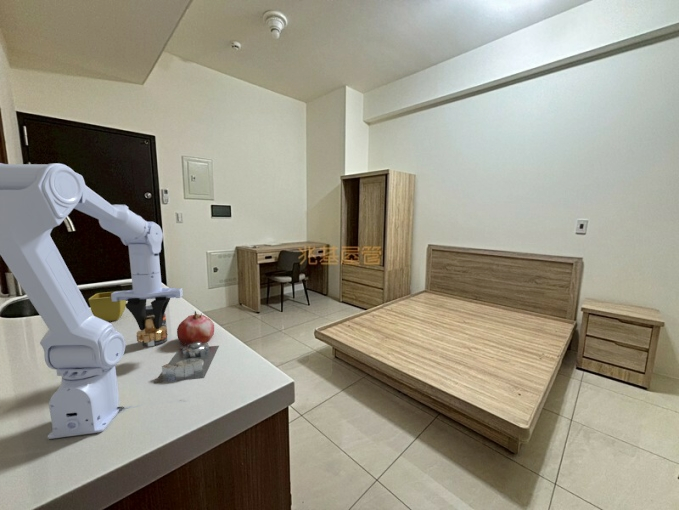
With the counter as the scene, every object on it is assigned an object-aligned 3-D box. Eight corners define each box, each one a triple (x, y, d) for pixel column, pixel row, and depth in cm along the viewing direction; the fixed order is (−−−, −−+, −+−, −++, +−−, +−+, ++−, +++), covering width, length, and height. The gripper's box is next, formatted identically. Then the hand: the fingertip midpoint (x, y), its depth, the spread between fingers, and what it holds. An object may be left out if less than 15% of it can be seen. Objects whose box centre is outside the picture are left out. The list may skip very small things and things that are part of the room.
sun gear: (205, 356, 72) (205, 347, 72) (179, 359, 71) (178, 349, 71) (211, 346, 78) (210, 337, 78) (187, 348, 77) (186, 339, 76)
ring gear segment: (200, 376, 63) (199, 366, 63) (159, 381, 62) (158, 370, 61) (203, 370, 66) (203, 360, 66) (164, 374, 64) (163, 364, 64)
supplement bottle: (156, 351, 77) (152, 310, 76) (137, 349, 78) (133, 309, 77) (172, 341, 83) (169, 303, 81) (155, 340, 84) (151, 302, 83)
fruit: (180, 339, 85) (177, 306, 83) (215, 334, 88) (213, 303, 87) (175, 353, 76) (172, 317, 75) (214, 347, 79) (212, 312, 78)
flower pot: (99, 317, 103) (96, 292, 102) (129, 313, 107) (126, 290, 106) (91, 325, 95) (87, 299, 94) (123, 321, 99) (120, 296, 98)
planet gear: (161, 341, 68) (159, 321, 67) (131, 343, 66) (129, 323, 66) (171, 330, 74) (169, 311, 73) (144, 332, 72) (142, 313, 72)
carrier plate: (204, 382, 63) (204, 376, 63) (153, 387, 61) (153, 381, 61) (219, 349, 79) (219, 344, 78) (179, 352, 77) (179, 347, 76)
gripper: (185, 268, 73) (188, 319, 75) (120, 270, 70) (126, 324, 72) (175, 273, 66) (179, 330, 68) (103, 276, 63) (110, 335, 65)
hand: (151, 327), depth 70 cm, fingers closed on planet gear, 3 cm apart
